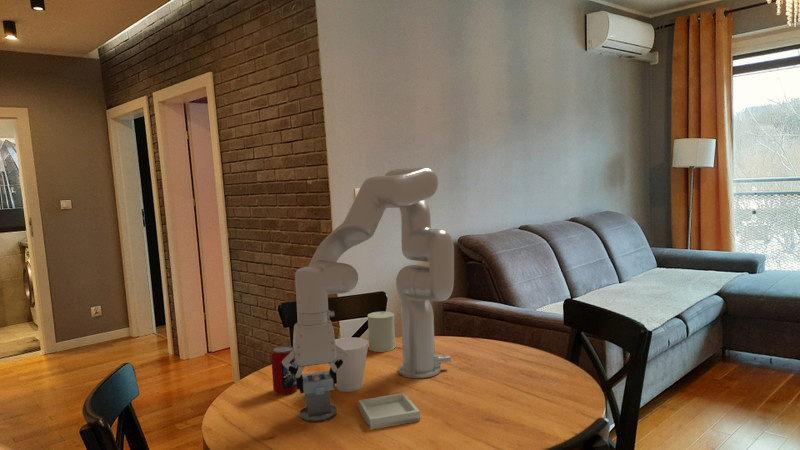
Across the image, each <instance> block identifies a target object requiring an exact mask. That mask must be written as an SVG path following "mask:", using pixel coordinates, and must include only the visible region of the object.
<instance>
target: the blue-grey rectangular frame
mask: <svg viewBox="0 0 800 450" xmlns="http://www.w3.org/2000/svg"><path fill="white" fill-rule="evenodd" d="M313 374H320V376H321V380H316V381H312V375H313ZM302 377H303V391H304V393H303V394H304V395H305V394H309V393H315V394H316V395H320V394H324V391H329V390H330V391H333V390H335V388H334V386H333V379H332V377H331V376H330V374H329V370H324V371H318V372H311V373H304V374H303V373H302Z"/></svg>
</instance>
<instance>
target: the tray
mask: <svg viewBox="0 0 800 450" xmlns="http://www.w3.org/2000/svg"><path fill="white" fill-rule="evenodd" d="M358 410H359V413H360V414H361V416H362V417H363V419H364V420H365V422H366V424H367V426H368V428H369V429H370V430H375V429H376V430H377V429H382V428H387V427H394V426H399V425H405V424H410V423H417V422H421V411H420V409H419V408H418V407H417V406H416V405H415V403H414V402H413V401H412V400H411V398H409V396H408V395H407V394H406V393H405V392H403V393H401V392H400V393H395V394H388V395H384V396H383V395H382V396H377V397H371V398H365V399H359V400H358Z"/></svg>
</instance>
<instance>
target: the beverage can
mask: <svg viewBox="0 0 800 450" xmlns="http://www.w3.org/2000/svg"><path fill="white" fill-rule="evenodd" d="M292 351H293V345H280V346H277V347H275V348H274V349H273V351H272V354H271V371H272V385H273V392H275V393H277V394H278V395H281V396H283V395H290V394H292V393H294V392H296V391H297V390H298V389H297V384H296V376H295V375H294V374H292V373H291V372H290V371H289V370H288V369H287V368H286V367H285V366H283V364H282V360H283V359H284V358H286V357H287V356H288V355H289V354H290V353H291V352H292ZM290 364H291V365H292V366H294V367H295V368H296V367H297V365H296V362H295V361H294V358H293V359H292V360H291V361H290Z"/></svg>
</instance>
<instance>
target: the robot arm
mask: <svg viewBox="0 0 800 450" xmlns="http://www.w3.org/2000/svg"><path fill="white" fill-rule="evenodd" d="M438 186H439V179H438V176H437V174H436V172H434V170H432V169H431V168H429V167H409V168H407V167H406V168H405V167H404V168H395V169H391V170H389V171H387V172H386V173H385V174H384V175H380V176H379V175H378V176H370V177H368V178H367V179H365V180H364V181H363V182H362V183H361V186H360V188H359V190H358V192H357V194H356V196H355V198H354V200H353V202H352V204H351V206H350V208H349V210H348V213H347V215H346V217H345V218H344V221H343V222H342V223H340V225H339V226H337V227H336V228H335V229H334V230H332V231H331V232H330V234H328V235H327V236H326V237H325V238H324V239H323V240H322V241H321V242H320V244H319V245H318V246H317V248H316V250H315V252H314V254H313V256H312V258H311V260H310V262H309V264H308V266H304V267H300V268H298V269H297V270H296V271H295V273H294V282H295V295H296V297H295V299H296V300H295V301H296V315H297V316H296V317H297V322H296V323H294V325H293V336H292V337H293V338H292V339H293V340H292V347H293V351H292V352H291V353H290V354H289V355H288V356H287V357H286V358H284V359H283V360H282V364H283V366H285V367H286V368H287V369H288V370H289V371H290V372H291V373H292V374H294V375H295V376H296V384H297V390H299V393H300V394H304V391H303V377H302V375H303V371H304V368H305V367H311V366H319V365H325V364H328V365H329V367H330V368H329V370H328V371H329V374H330V376H331V377H332V379H333V386H334V389H335V388H336V384H337V375H336V372H337V371H338V369H339V367H340V366H341V365H342V364H343V362H344V361H345V359H346V358H347V356H348V353H347V352H346V351H344V350H343V349H341V348H340V347H338V346H337V345H336V343H335V339H336V337H335V332H334V331H335V330H334V327H333V322H332V320H331V318H332V317H335V311H334V310H330V309H329V298H328V297H329V296H328V295H334V294H335V295H337V294H346V293H348V292H351V291H353V289H354V288H356V286H357V284H358V282H359V274H358V271H357V269H356V268H355V267H354V266H353V265H351V264H349V263H345V262H339V259H340V258H341V256H342V255H343V254H344V253H345V252H347V251H348V250H351V248H353V247H355V246H358V245H361V244H362V243H365V242H366V241H368V240H371V238H372V237H373V236H374V235H375V233H376V230H377V228H378V226H379V223H380V221H381V219H382V217H383V215H384V213H385V211H386V209H390V208H391V209H396V208H397V209H398V208H399V211H400V216H401V217H400V218H401V219H400V220H401V226H400V227H401V228H400V229H401V235H400V236H401V252H402V255H403V256H404V258H406V259H407V260H410V261H415V262H425V263H428V264H429V265H418V264H410V265H406V266H404V267H402V268H401V269H400V270H399V271H398V273H397V274H396V275H397V276H396V279H395V280H396V281H395V282H396V283H395V284H396V290H397V293H398V298H399V305H400V317H401V318H400V319H401V343H402V363H401V364H400V365H399V366H397V370H398V374H399V375H401V376H403V377H406V378H412V379H423V378H431V377H434V376H436V375H438V374H439V373H441V371H442V370H441V369H442V368H441V365H442V364H443V363H451V361H452V359H451V356H450V355H444V354H438V355H437V354H436V353H435V352H436V349H435V323H434V322H435V321H434V309H433V306H432V304H431V301H432V302H444V301H447V300H448V299H449V298H450V297H451V295H452V293H453V290H454V283H455V282H454V281H455V243H454V242H453V239H452V236H451V235H450V233H448V231H446V230H444V229H440V228H432V226H431V225H432V223H431V221H432V220H431V211H430V210H431V209H430V206H429V204H428V202H427V199H430V198H431V197H433V196H434V195H435V193H436V192H437V189H438ZM336 352H337V353H339V354H340V357H339V359H337V361H336V362H335V363H334V361H335V360H336V358H337V353H336ZM293 358H294V361H295V362H296V365H297V367H296V368H295V367H294V366H292V365H291V364H290V361H291V360H292V359H293Z"/></svg>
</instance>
